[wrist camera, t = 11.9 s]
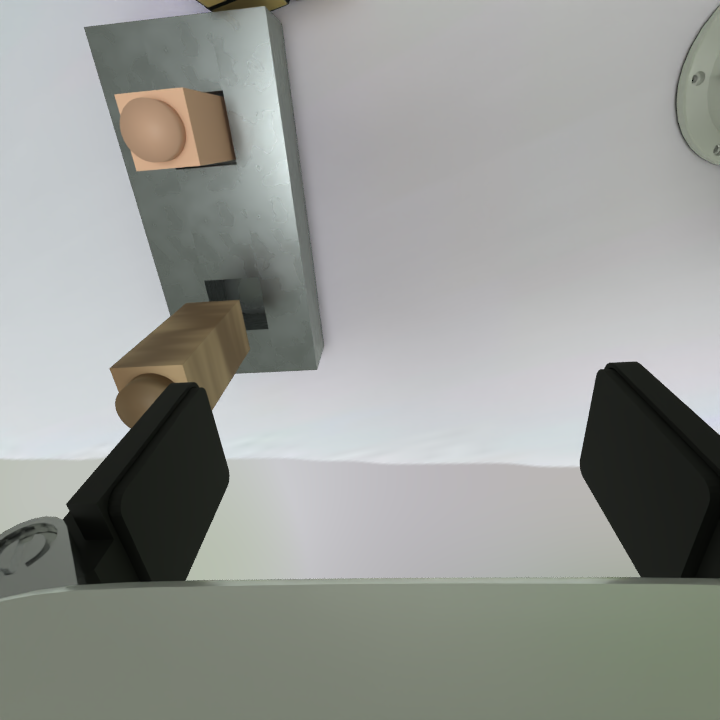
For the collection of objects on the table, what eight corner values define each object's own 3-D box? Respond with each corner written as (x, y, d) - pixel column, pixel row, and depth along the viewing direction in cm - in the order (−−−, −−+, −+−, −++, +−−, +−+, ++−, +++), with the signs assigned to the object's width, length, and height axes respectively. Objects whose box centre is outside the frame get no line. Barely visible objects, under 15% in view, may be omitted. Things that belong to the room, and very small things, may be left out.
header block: (281, 23, 32) (264, 5, 27) (323, 345, 43) (317, 369, 39) (124, 41, 33) (84, 27, 28) (208, 351, 44) (188, 375, 40)
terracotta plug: (236, 99, 33) (173, 85, 23) (247, 157, 35) (192, 167, 25) (186, 105, 33) (101, 92, 23) (198, 162, 35) (126, 172, 25)
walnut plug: (239, 299, 31) (172, 376, 22) (250, 349, 33) (193, 440, 23) (186, 303, 32) (96, 379, 22) (199, 351, 34) (122, 443, 24)
